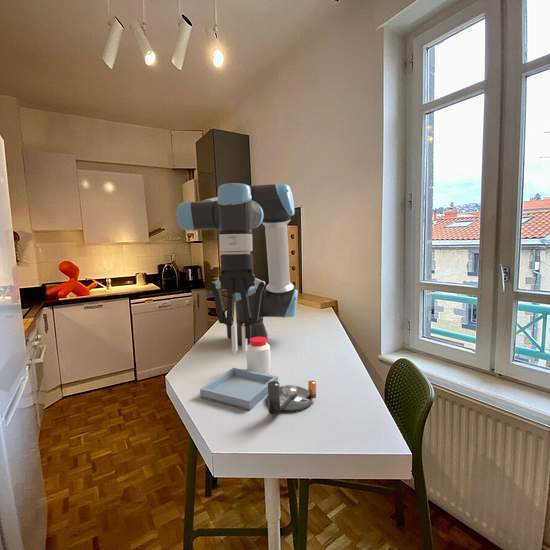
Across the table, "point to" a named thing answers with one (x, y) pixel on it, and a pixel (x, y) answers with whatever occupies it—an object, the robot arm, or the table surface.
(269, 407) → the crank
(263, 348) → the pill bottle
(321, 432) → the table surface
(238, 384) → the tray
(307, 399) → the crank base
